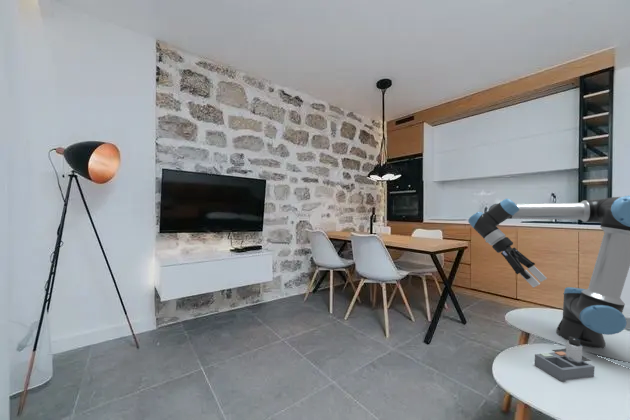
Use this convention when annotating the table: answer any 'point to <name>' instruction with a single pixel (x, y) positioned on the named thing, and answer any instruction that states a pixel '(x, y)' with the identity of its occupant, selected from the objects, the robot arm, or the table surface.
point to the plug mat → (565, 351)
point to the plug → (574, 351)
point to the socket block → (562, 366)
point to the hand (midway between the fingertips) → (540, 283)
